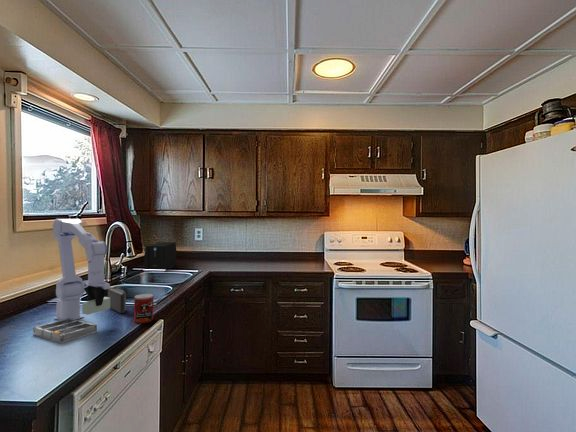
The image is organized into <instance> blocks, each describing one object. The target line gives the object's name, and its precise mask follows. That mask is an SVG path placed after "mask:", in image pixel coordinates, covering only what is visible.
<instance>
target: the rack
mask: <svg viewBox="0 0 576 432" xmlns="http://www.w3.org/2000/svg"><path fill="white" fill-rule="evenodd" d="M32 329H33V331H32V333H33V335H34V336H37V337H40V338H44V339H46V340H49V341H53V342H55V343H59V344H64V343H68V342H71V341H73V340H76V339H80V338H83V337H86V336H89V335H90V336H91V335H93V334H95V333H98V325H97V324H95V323H91V322H85V321H83V320H80V319H76V320H75V319H71V318H67V319H63V320H56V321H51V322H49V323H44V324H41V325H37V326H33V328H32Z"/></svg>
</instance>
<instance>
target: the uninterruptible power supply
mask: <svg viewBox="0 0 576 432" xmlns="http://www.w3.org/2000/svg"><path fill="white" fill-rule="evenodd" d="M176 244H177V243H176V242H171V241H169V242H168V241H166V242H164V241H163V242H162V241H160V242H155V243H151V244H148V245H145V247H144V255H143V262H144V270H145V269H167V268H169V267H171V266H173V265H175V264H177V258H178V257H177V255H178V252H177V251H178V250H177V245H176ZM175 266H176V265H175Z"/></svg>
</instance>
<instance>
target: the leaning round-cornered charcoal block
mask: <svg viewBox="0 0 576 432" xmlns="http://www.w3.org/2000/svg"><path fill="white" fill-rule="evenodd" d="M107 297H109V298H110V309H112V310H113V311H115V312H117V313H119V314H125V312H126V309H127V299H126V298H127V293H126V291H124V290H123V289H119V288H110V289H108V290H107Z"/></svg>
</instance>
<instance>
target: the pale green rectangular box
mask: <svg viewBox="0 0 576 432" xmlns="http://www.w3.org/2000/svg"><path fill="white" fill-rule="evenodd" d="M81 306H82V308H81V311H82V314H83V315H92V314H95V313H99V312H103V311H106V310H110V309H111V308H110V298H109V297H108V296H104V299H103V303H102V305H100V306H96V302H95V299H94V300H90V301H89V300H87V301H83V302H82V303H81Z"/></svg>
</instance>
